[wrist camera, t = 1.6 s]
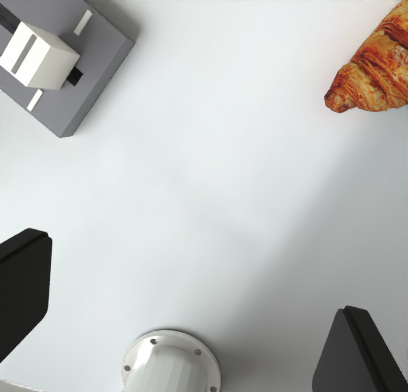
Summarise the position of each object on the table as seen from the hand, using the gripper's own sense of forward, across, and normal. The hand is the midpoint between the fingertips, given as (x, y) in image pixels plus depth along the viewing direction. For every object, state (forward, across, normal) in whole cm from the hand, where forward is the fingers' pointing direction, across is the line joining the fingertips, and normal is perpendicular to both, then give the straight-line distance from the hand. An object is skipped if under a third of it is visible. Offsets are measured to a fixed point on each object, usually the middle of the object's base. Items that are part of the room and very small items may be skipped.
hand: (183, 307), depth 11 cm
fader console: (+26, +23, -9) cm, 36 cm away
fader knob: (+25, +18, -6) cm, 32 cm away
